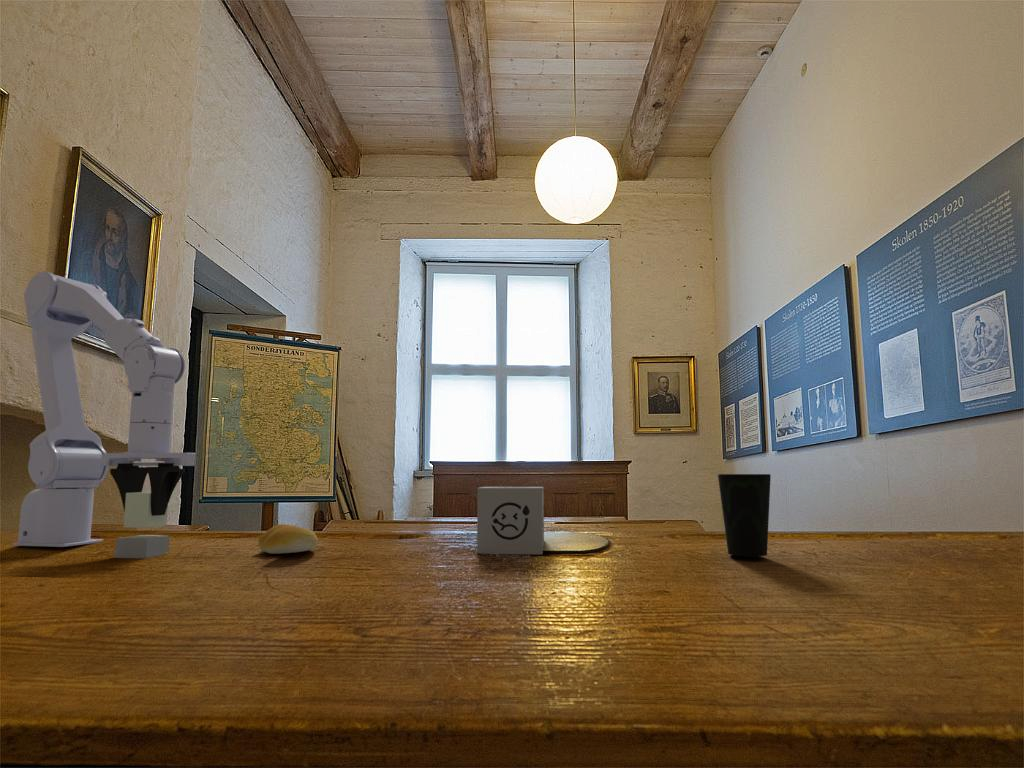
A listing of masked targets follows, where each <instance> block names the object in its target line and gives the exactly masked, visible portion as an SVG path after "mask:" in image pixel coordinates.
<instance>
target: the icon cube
mask: <svg viewBox="0 0 1024 768" xmlns="http://www.w3.org/2000/svg"><path fill="white" fill-rule="evenodd" d="M544 489H545V488H544V486H481V487H477V493H476V494H477V497H476V499H477V501H476V503H477V504H476V506H477V508H476V509H477V516H476V520H477V521H476V531H477V534H476V554H485V555H486V554H491V555H492V554H493V555H494V554H495V555H543V553H544V552H543V551H544V544H545V542H544V541H545V523H544V522H545V503H544V501H545V500H544V498H545V496H544V495H545V494H544V491H545V490H544Z"/></svg>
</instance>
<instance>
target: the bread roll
mask: <svg viewBox="0 0 1024 768" xmlns="http://www.w3.org/2000/svg"><path fill="white" fill-rule="evenodd" d="M318 542H319V539H318V536H317V534H316V533H315V531H313V530H311V529H308V528H305V527H299V526H296V525H292V524H284V523H283V524H282V523H281V524H278V525H277V524H276V525H275V526H272V527H270V528H269V529H268V530H266V532H264V533H263V534H262V535H261V536H260V537H259V539H258V542H257V545H258V548H259V549H260V551H261V552H262V551H263V553H268V554H269V555H270V554H271V555H272V554H273V555H274V554H276V555H279V554H291V553H301V552H307V551H312V550H314V549H316V548H317V547H318Z"/></svg>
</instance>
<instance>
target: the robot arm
mask: <svg viewBox="0 0 1024 768" xmlns="http://www.w3.org/2000/svg"><path fill="white" fill-rule="evenodd" d="M107 293H108V292H106V291H105V290H103V289H102V288H101V287H100V286H99V285H98V284H94V283H87V282H83V281H79V280H75V279H72V278H68V277H65V276H61V275H56V274H53V273H52V272H49V271H46V270H42V271H38V272H37V273H36V274H35V275H33V277H31V279H30V280H29V282H28V284H27V287H26V289H25V290H24V293H23V297H24V304H25V311H26V318H27V324H28V325H29V326H30V327H31V339H32V345H33V352H34V358H35V359H34V360H35V365H36V372H37V379H38V386H39V393H40V399H41V406H42V412H43V421H44V426H45V431H43V432H41V433H40V434H39V435H37V436H36V437H35V438H34V439H33V440H31V442H30V443H29V449H30V452H29V460H28V465H27V469H28V475H29V477H30V479H31V480H32V483H34V484H35V488H36V489H33V490H31V491H30V492H28V493H27V494H26V495H25V496H24V499H22V503H21V507H20V515H19V516H20V517H19V526H18V527H19V528H18V538H17V542H12V546H14V547H18V546H19V547H21V546H22V547H49V548H50V547H54V548H64V547H74V546H80V545H81V546H83V545H89V544H96V543H100V542H103V541H104V539H103V538H92V537H91V535H92V521H93V511H94V498H95V488H99V487H100V483H102V482H103V481H104V479H105V478H106V476H107V474H108V471H109V472H110V475H111V477H112V478H113V480H114V482H115V485H117V488H118V493H119V494H120V499H121V502H122V506H123V513H124V514H125V502H126V493H137V492H143V490H144V488H143V487H144V485H145V481H146V478H147V475H148V479H149V484H150V492H151V514H152V516H157V515H165V512H166V509H167V506H169V502H170V501H171V497H172V495H173V493H174V490H175V488H176V487H177V484H178V483H179V481H180V480H181V478H183V475H184V474H185V468H181V467H182V466H183V467H184V466H186V467H194V466H196V465H195V464H196V452H171V448H172V447H171V446H172V433H173V432H172V431H173V418H174V416H173V415H174V401H175V387H176V386H175V385H177V383H178V382H180V380H181V379H182V377H183V375H184V372H185V368H186V364H185V363H186V362H185V359H184V356H183V355H182V353H181V352H180V350H179V349H177V348H174V347H168V348H167V347H166V346H164V345H163V344H162V342H161V339H160V338H158V337H157V336H153V335H152V333H150V332H149V331H148V330H147V329H146V328H145V326H146V324H145V323H144V321H143V320H140V319H136V318H129V317H128V318H124V316H123V315H121V313H120V312H119V311H118V310H117V309H116V308H115V307H114V306H113V304H112V303H111V302H110V300H108V294H107ZM92 323H93V324H94V325H95V326H96V327H98V328H99V329H100V330H101V331H103V332H104V342H105V344H106V346H107V347H109V349H110V350H112V352H113V353H114V354H116V356H118V357H119V359H121V360H122V361H123V362H124V363H123V368H124V369H123V370H124V372H125V375H126V377H127V380H128V385H127V386H128V387H127V388H128V389H129V391H130V393H131V401H130V415H129V427H128V428H129V429H128V441H127V442H128V443H127V451H125V452H111V453H110V452H109V453H108V452H107V451H106V450H105V449H104V447H103V444H102V439H101V437H100V436H99V435H98V434H96V433H95V432H94V431H93V430H92V429H90V428H88V426H86V424H85V418H84V410H83V406H82V400H81V393H80V388H79V382H78V381H79V380H78V375H77V370H76V364H75V363H76V362H75V358H74V357H75V356H74V351H73V345H72V339H73V338H76V337H78V336H81V335H83V333H85V332H86V330H87V329H88V328H89V327H90V326H91V324H92ZM142 460H155V461H156V462H152V461H151V462H142ZM110 467H115V468H110ZM109 468H110V470H109ZM167 510H168V509H167Z"/></svg>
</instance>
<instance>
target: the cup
mask: <svg viewBox="0 0 1024 768" xmlns="http://www.w3.org/2000/svg"><path fill="white" fill-rule="evenodd" d="M771 477H772V476H771V474H770V473H766V474H765V473H759V474H758V473H748V474H747V473H745V474H744V473H736V474H735V473H725V474H724V473H718V474H717V479H718V486H719V488H718V489H719V495H720V501H721V511H722V517H723V525H724V530H725V532H724V533H725V540H726V547H727V554H728V555H731V556H737V557H739V556H740V557H766V556H767V555H768V545H769V544H768V542H769V541H768V538H769V520H770V519H769V518H770V517H769V516H770V498H771V497H770V496H771Z"/></svg>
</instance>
